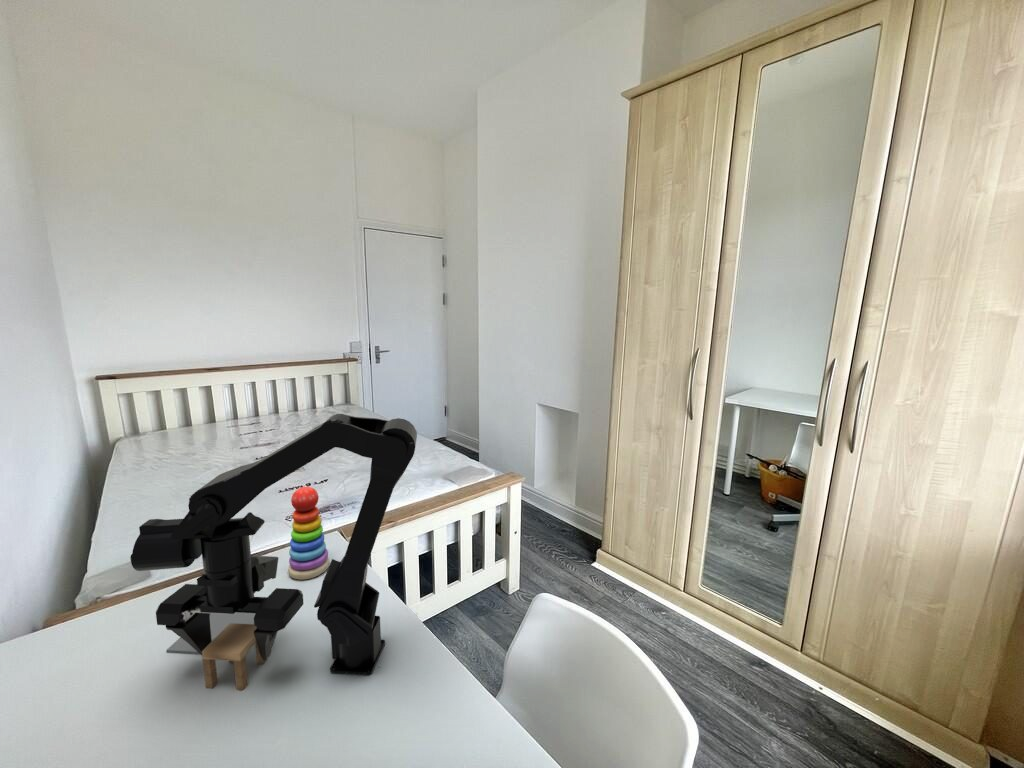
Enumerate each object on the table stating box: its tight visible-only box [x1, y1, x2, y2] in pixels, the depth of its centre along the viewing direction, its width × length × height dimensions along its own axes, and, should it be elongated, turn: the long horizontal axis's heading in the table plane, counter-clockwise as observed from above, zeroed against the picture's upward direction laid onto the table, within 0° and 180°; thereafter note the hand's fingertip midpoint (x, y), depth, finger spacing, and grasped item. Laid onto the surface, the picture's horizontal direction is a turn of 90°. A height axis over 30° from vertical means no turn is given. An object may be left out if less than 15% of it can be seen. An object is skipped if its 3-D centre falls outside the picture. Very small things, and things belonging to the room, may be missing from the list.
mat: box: [165, 612, 255, 655], centre depth 71 cm, size 10×10×1 cm
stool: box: [201, 623, 267, 691], centre depth 62 cm, size 6×6×6 cm
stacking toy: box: [287, 486, 330, 581], centre depth 87 cm, size 8×8×19 cm
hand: (237, 656), depth 62 cm, fingers open, 9 cm apart
